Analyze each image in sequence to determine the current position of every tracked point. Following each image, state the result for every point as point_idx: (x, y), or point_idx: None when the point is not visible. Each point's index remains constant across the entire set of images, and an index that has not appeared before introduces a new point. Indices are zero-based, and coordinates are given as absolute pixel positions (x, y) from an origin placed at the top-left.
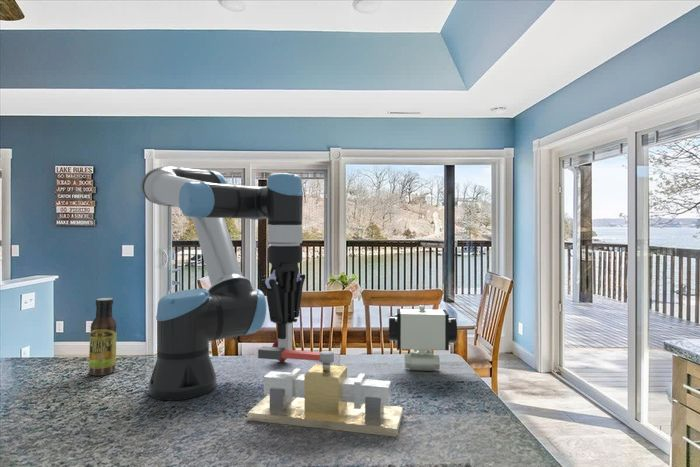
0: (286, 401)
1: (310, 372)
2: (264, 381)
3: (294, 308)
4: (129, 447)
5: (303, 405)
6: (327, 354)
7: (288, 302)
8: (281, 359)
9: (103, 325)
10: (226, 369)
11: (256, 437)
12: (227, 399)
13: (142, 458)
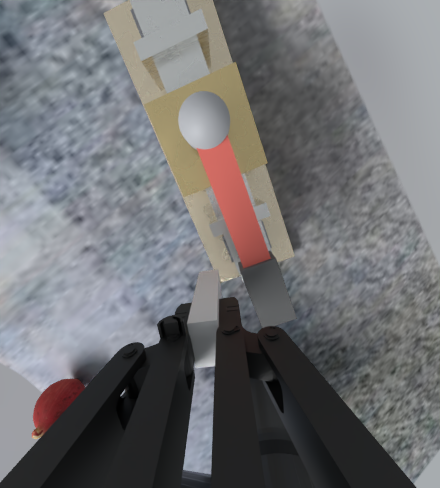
0: None
1: (243, 162)
2: None
3: (144, 381)
4: (421, 311)
5: None
6: (216, 105)
7: (172, 438)
8: (80, 381)
9: None
10: None
11: (327, 199)
12: (252, 330)
13: (436, 276)
